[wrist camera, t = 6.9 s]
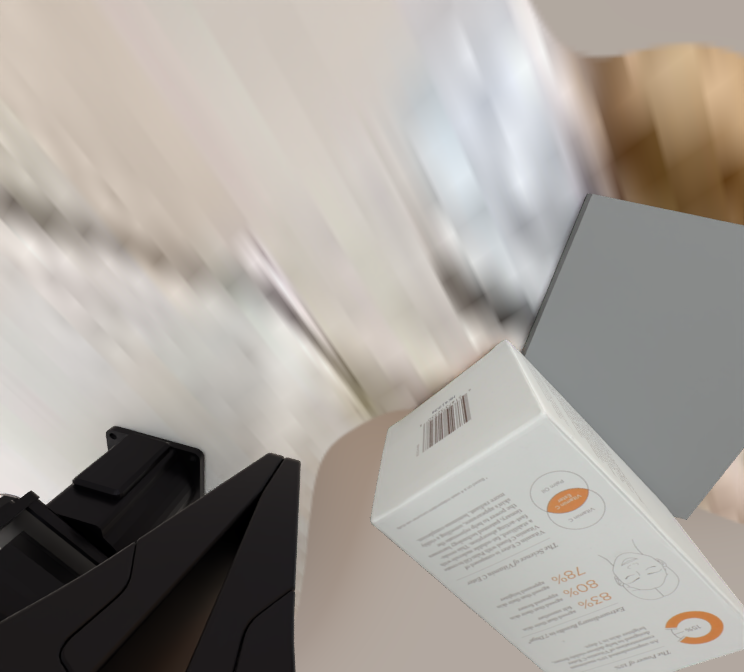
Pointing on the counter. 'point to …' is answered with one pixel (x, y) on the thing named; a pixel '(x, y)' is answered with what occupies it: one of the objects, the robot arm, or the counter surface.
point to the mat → (650, 341)
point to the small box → (548, 529)
